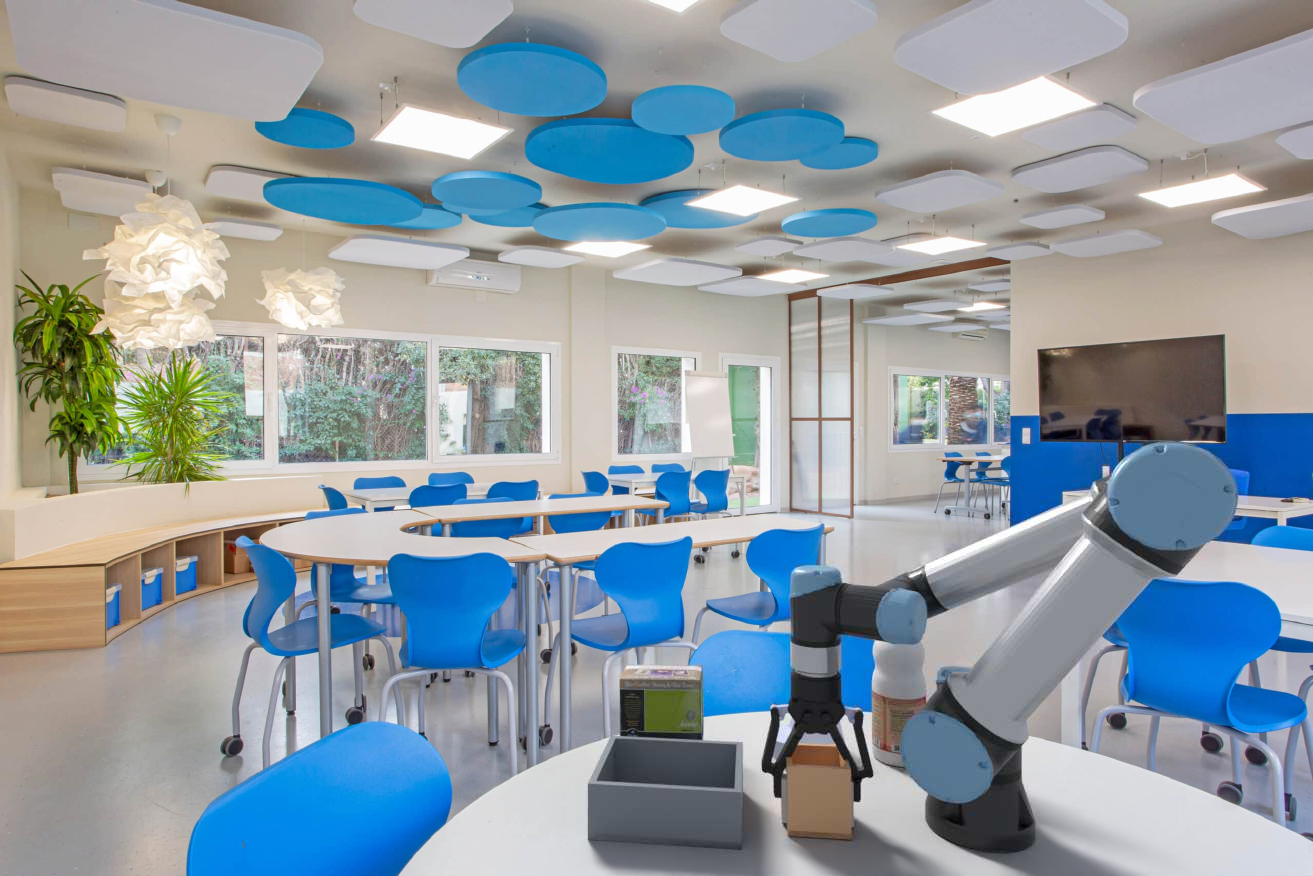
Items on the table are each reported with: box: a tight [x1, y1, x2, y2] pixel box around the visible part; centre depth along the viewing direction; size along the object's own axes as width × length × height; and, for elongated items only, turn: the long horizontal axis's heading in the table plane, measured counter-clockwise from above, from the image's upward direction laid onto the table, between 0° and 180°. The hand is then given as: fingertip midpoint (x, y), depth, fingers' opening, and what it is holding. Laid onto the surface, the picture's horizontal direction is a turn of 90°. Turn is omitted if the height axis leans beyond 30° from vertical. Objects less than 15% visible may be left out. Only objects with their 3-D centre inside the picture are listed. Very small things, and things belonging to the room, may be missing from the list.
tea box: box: [619, 663, 705, 740], centre depth 140 cm, size 15×10×15 cm
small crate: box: [784, 743, 853, 840], centre depth 113 cm, size 9×9×10 cm
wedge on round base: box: [773, 717, 846, 760], centre depth 139 cm, size 9×7×13 cm
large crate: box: [587, 735, 744, 851], centre depth 116 cm, size 22×18×8 cm
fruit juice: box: [871, 640, 927, 768], centre depth 137 cm, size 9×9×28 cm
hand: (816, 820), depth 113 cm, fingers closed on small crate, 9 cm apart
